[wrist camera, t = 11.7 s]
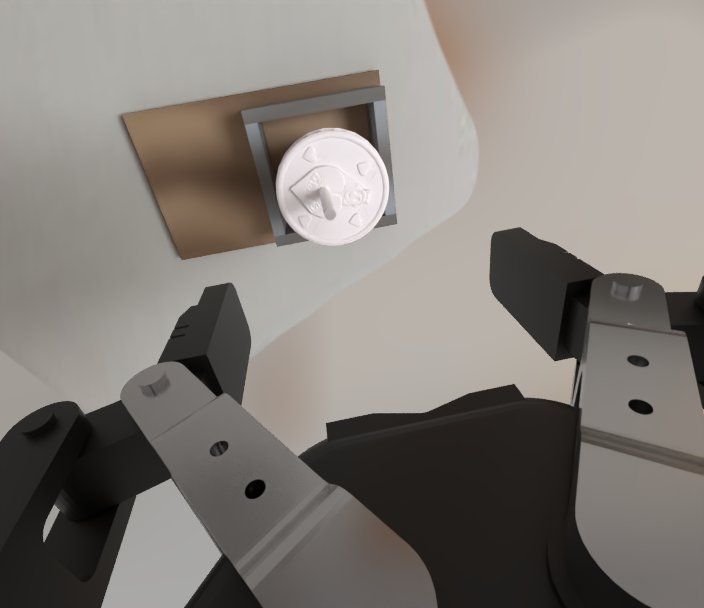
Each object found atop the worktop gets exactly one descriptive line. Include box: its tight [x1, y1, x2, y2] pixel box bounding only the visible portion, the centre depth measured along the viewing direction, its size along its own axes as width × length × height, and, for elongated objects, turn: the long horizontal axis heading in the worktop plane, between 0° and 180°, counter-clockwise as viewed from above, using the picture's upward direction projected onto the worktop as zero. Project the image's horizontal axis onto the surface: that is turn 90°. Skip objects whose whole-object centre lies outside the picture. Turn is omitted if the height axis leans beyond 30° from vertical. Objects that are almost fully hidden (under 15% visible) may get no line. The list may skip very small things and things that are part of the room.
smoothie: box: [276, 128, 389, 246], centre depth 23 cm, size 6×6×14 cm
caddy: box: [122, 70, 397, 260], centre depth 28 cm, size 11×18×4 cm, turn 99°
